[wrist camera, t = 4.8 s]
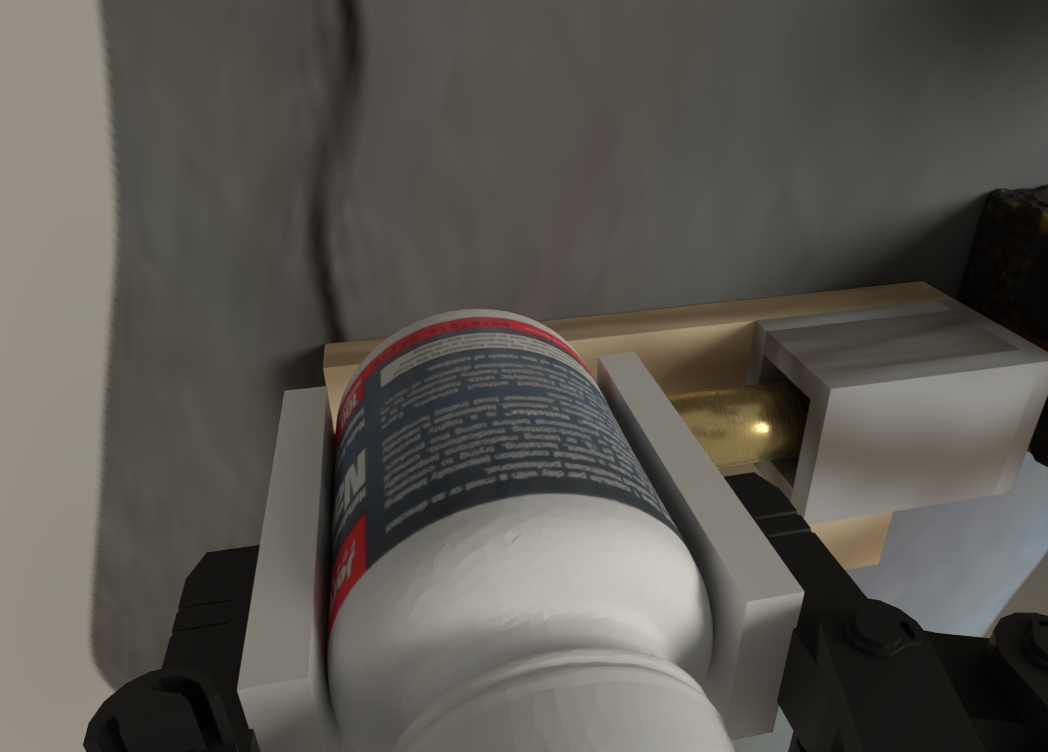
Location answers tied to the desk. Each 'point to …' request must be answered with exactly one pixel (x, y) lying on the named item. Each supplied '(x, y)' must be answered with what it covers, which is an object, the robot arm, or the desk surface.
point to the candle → (1014, 276)
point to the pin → (746, 421)
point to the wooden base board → (839, 394)
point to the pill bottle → (505, 558)
